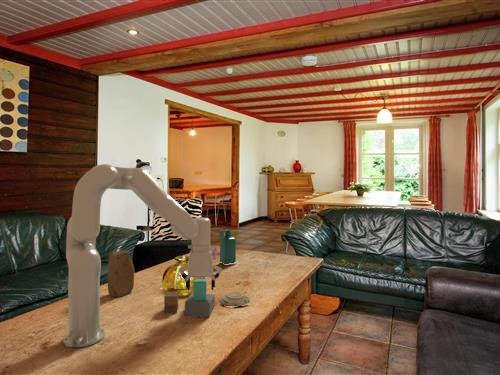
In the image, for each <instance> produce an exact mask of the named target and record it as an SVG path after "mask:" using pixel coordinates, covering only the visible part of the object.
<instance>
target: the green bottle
mask: <svg viewBox="0 0 500 375" xmlns="http://www.w3.org/2000/svg"><path fill="white" fill-rule="evenodd" d="M232 232H233V230H232V229H224V230H223V229H219V230H218V234H219V235H218V236H219V238H220V239H219V253H220V255H219V263H220V262H222V263H224V264H229V263H234V262H236V263H237V261H236V260H237V238H236V237H235V236H232Z"/></svg>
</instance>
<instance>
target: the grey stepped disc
mask: <svg viewBox="0 0 500 375" xmlns="http://www.w3.org/2000/svg"><path fill="white" fill-rule="evenodd" d="M250 299H251V298H250V296H248V295H247V294H245V293H244V292H242V291H229V292H227V293H226V294H223V295H222V297H220V298H219V300H218V303H219V302H220V303H221V304H222V305H221V306H224V305H225V306H242V305H245V304H247V303H249V302H250ZM225 306H224V307H225Z"/></svg>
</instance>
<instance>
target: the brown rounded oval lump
mask: <svg viewBox="0 0 500 375" xmlns="http://www.w3.org/2000/svg"><path fill="white" fill-rule="evenodd" d="M130 255H131V254H130V251H128V250H124V249H123V250H117V251H114V252H110V253H109V255H108V264H107V290H108V292H107V293H108V294H109V295H110V296H111V297H115V298H116V297H124V296H127V294H130V293H131V292H132V291H133V288H134V287H135V267H134V264H133V261H132V259H131V258H130Z"/></svg>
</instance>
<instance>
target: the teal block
mask: <svg viewBox="0 0 500 375" xmlns="http://www.w3.org/2000/svg"><path fill="white" fill-rule="evenodd" d="M193 293H194V300H206V294H207V279H206V278H202V279H201V278H199V279H197V278H196V279H194V285H193Z"/></svg>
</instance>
